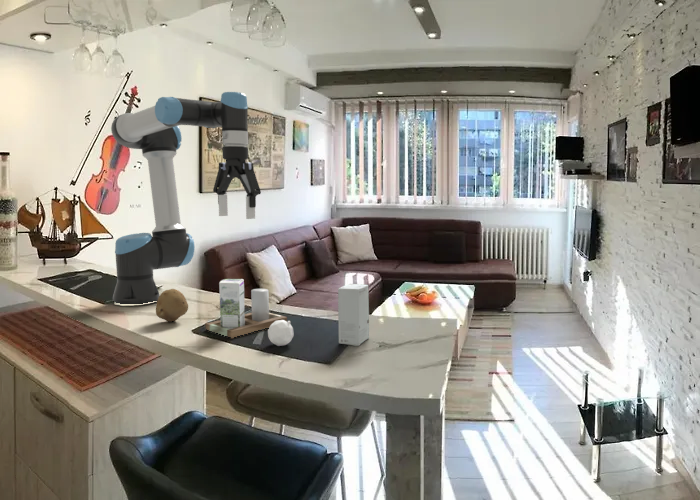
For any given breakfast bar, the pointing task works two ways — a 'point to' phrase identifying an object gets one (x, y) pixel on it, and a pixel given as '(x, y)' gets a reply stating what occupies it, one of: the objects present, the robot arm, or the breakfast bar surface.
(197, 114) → the robot arm
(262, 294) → the grey canister
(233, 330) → the socket board
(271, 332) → the ornament
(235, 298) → the syrup box
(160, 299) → the brown potato
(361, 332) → the skincare box
